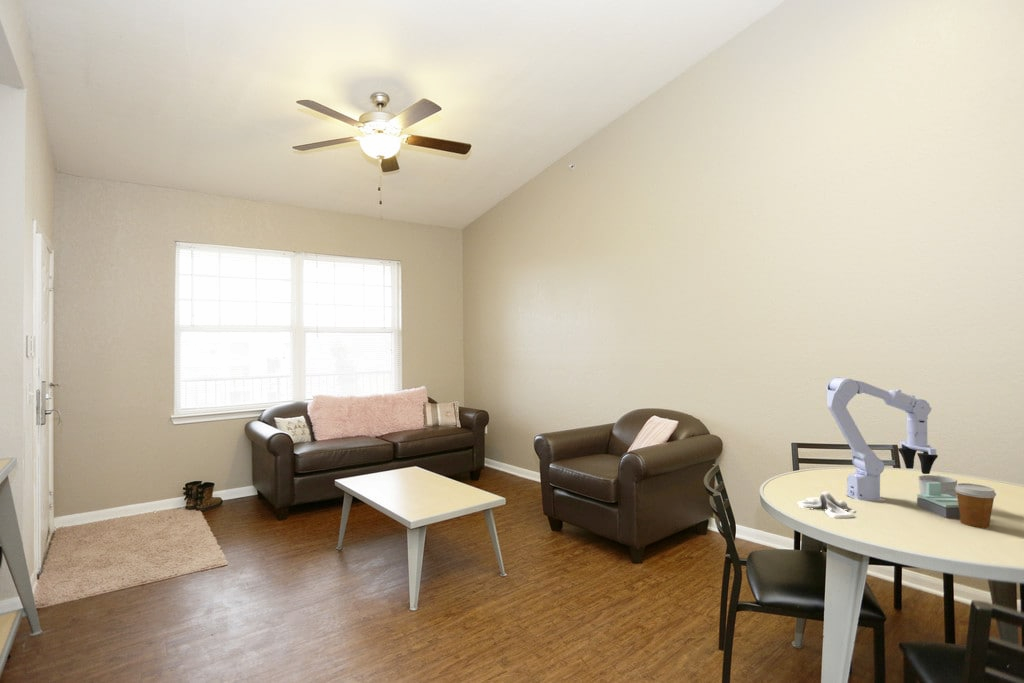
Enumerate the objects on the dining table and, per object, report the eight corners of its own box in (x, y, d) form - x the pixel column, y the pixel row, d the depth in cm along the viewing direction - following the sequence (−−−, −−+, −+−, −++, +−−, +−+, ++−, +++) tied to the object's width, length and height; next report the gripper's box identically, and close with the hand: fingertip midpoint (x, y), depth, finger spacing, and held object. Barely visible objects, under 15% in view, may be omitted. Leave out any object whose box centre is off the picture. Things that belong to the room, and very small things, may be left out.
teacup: (953, 507, 180) (953, 483, 180) (914, 499, 188) (914, 477, 188) (962, 499, 189) (962, 477, 189) (924, 492, 197) (925, 471, 197)
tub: (977, 520, 166) (978, 509, 166) (945, 519, 167) (946, 508, 167) (946, 508, 178) (947, 497, 178) (917, 507, 179) (917, 497, 179)
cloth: (850, 524, 164) (850, 504, 164) (787, 509, 177) (787, 491, 177) (871, 509, 178) (871, 491, 178) (811, 497, 192) (811, 480, 192)
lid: (978, 508, 166) (978, 492, 166) (946, 507, 167) (946, 492, 167) (947, 496, 178) (947, 482, 178) (917, 496, 179) (917, 482, 179)
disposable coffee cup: (954, 519, 167) (954, 481, 167) (994, 525, 161) (995, 486, 161) (954, 527, 160) (954, 487, 160) (997, 534, 154) (997, 493, 154)
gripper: (945, 436, 179) (945, 476, 179) (913, 428, 194) (913, 466, 194) (924, 436, 179) (924, 476, 179) (893, 429, 194) (894, 466, 194)
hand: (917, 471), depth 187 cm, fingers open, 7 cm apart
